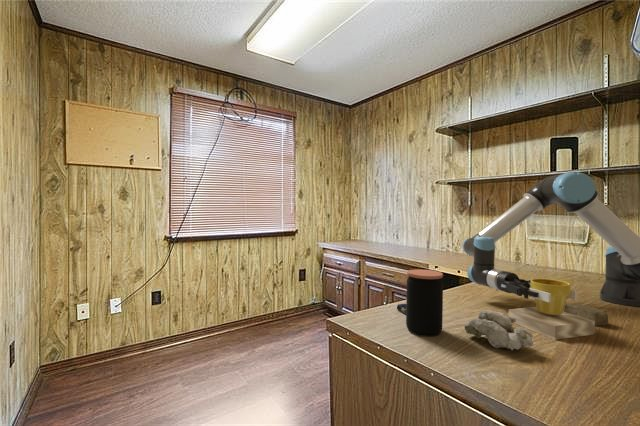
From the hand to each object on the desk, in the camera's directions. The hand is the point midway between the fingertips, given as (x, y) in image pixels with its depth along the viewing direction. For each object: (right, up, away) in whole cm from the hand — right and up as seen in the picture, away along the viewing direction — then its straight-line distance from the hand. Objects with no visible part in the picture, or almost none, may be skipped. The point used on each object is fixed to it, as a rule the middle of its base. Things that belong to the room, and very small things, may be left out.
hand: (563, 296), depth 99 cm
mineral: (-25, -11, -10) cm, 29 cm away
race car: (-43, -11, +16) cm, 47 cm away
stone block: (+16, -12, +11) cm, 23 cm away
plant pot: (-1, -6, +4) cm, 8 cm away
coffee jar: (-43, -11, 0) cm, 44 cm away
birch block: (-1, -11, +4) cm, 12 cm away
